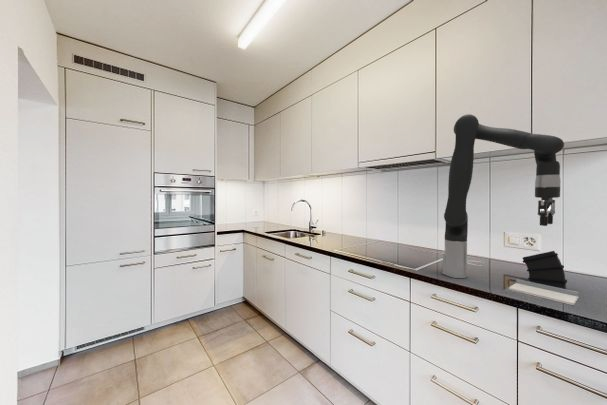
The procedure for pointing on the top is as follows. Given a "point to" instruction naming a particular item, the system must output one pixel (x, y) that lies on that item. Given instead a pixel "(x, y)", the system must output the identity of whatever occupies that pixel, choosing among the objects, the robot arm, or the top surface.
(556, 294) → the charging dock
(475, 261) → the pliers
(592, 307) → the top surface
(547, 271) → the magazine
